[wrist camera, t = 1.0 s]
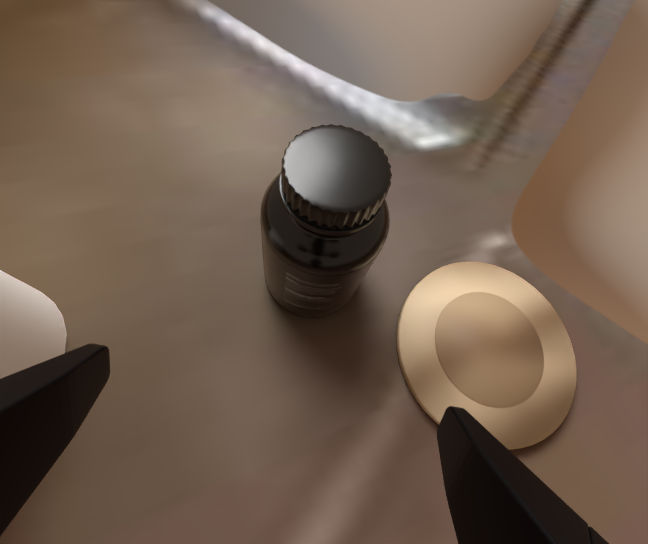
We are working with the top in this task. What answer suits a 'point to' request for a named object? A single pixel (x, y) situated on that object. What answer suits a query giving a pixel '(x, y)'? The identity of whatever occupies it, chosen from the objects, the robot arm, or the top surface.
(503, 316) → the beige round plate
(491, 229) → the top surface
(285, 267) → the supplement bottle
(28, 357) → the cylinder with rectangular tab
